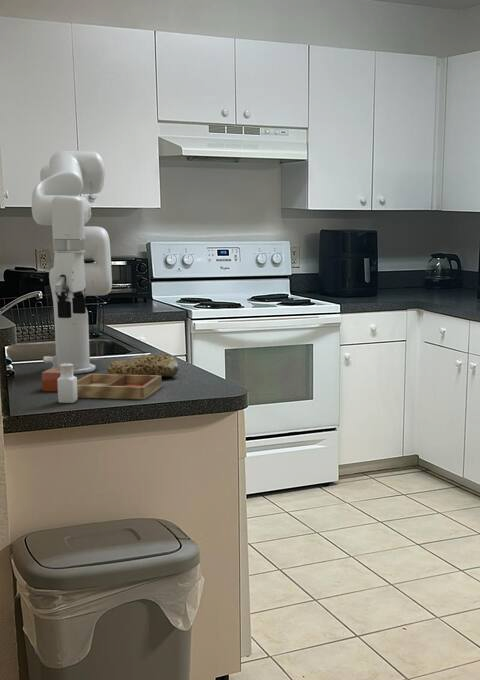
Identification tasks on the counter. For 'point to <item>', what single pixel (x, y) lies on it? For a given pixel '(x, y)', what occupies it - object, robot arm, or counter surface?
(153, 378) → the tray
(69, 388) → the salt shaker
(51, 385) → the clay block
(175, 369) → the sponge
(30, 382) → the counter surface
